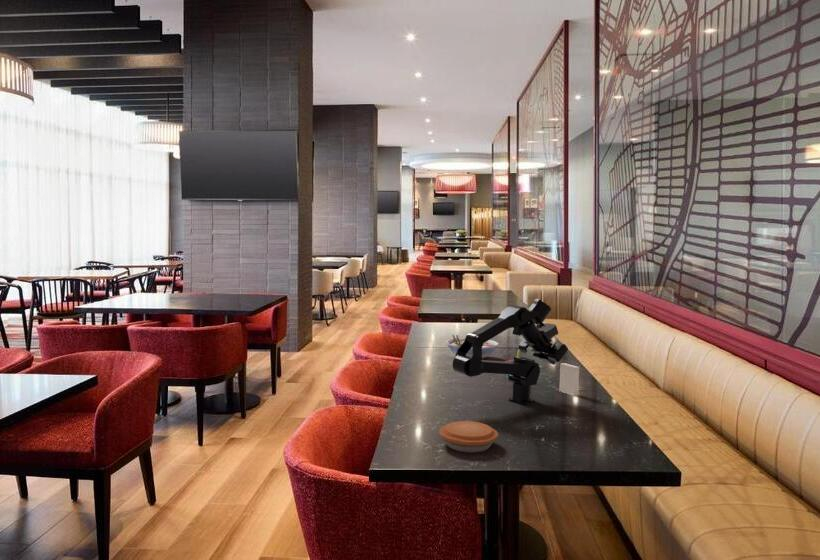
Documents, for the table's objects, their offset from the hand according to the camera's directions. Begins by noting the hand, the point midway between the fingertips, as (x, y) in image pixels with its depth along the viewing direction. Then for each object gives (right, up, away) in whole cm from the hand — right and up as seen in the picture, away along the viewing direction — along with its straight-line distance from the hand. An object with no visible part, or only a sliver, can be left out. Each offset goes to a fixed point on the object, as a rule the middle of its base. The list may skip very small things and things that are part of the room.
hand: (554, 363), depth 211 cm
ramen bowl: (-23, -6, +58) cm, 62 cm away
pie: (-34, -15, -49) cm, 62 cm away
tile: (+6, -11, +5) cm, 13 cm away
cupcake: (-10, -9, +25) cm, 28 cm away
